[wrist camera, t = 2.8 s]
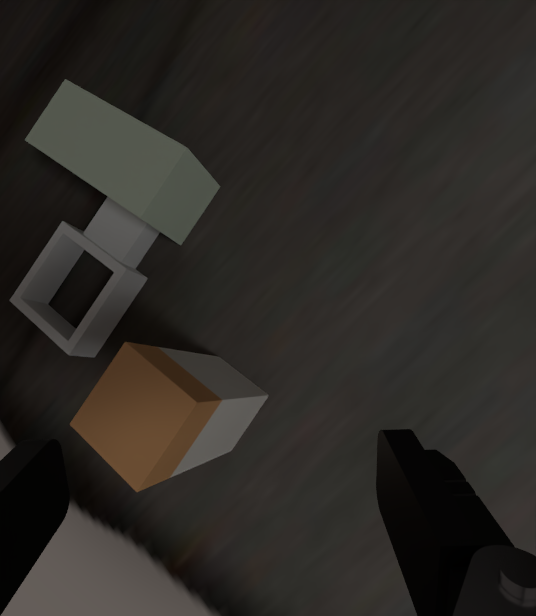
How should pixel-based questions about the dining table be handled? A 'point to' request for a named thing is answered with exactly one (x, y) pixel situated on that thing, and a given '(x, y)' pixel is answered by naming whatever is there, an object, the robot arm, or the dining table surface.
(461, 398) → the dining table surface
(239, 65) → the dining table surface
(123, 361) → the orange and grey block
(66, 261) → the grey boxy piece
